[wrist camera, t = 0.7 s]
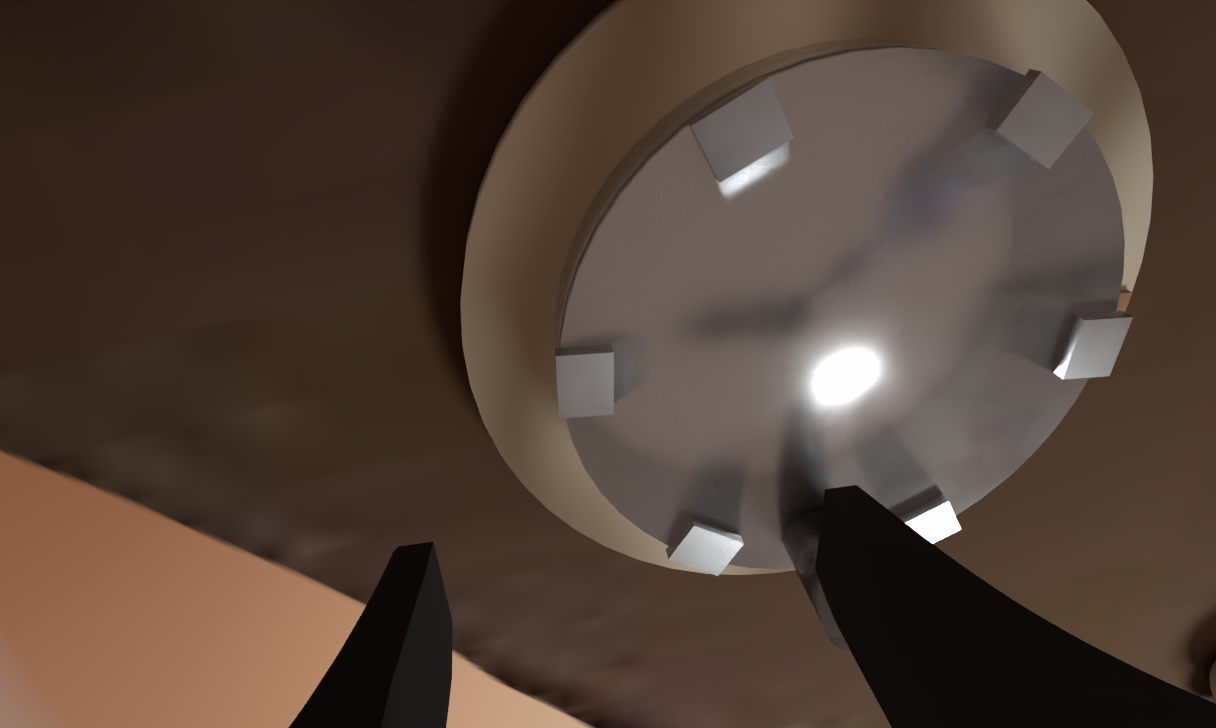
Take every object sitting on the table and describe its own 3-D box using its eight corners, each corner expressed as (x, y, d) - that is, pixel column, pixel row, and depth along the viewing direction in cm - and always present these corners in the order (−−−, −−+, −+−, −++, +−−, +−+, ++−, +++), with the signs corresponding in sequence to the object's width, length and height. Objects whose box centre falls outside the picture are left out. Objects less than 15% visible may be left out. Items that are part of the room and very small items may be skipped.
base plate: (1225, -83, 18) (1288, -86, 17) (1008, 518, 28) (1036, 549, 27) (417, -85, 16) (410, -89, 14) (492, 570, 26) (492, 607, 24)
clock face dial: (1155, 33, 18) (1395, 62, 13) (994, 503, 25) (1109, 630, 20) (536, 44, 16) (552, 83, 11) (560, 545, 23) (576, 695, 19)
